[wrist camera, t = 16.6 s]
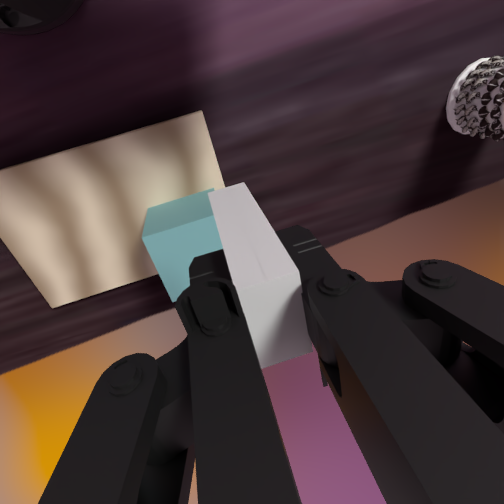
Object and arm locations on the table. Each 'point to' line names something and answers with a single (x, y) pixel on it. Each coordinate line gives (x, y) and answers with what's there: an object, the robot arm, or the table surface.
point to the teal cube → (180, 238)
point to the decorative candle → (478, 99)
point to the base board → (100, 205)
